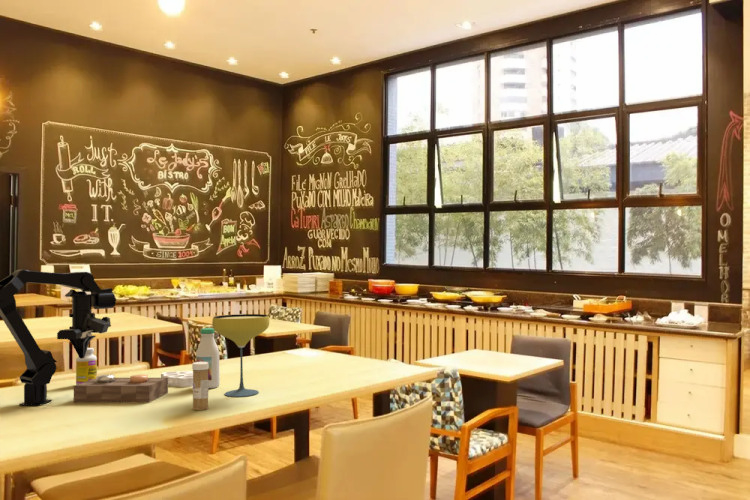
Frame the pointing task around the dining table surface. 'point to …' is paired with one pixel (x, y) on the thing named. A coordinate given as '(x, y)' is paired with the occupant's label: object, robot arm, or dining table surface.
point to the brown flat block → (120, 390)
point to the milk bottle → (209, 356)
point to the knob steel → (105, 379)
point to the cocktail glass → (240, 338)
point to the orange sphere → (138, 378)
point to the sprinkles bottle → (200, 385)
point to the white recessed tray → (179, 378)
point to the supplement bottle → (86, 367)
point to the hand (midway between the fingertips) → (82, 358)
